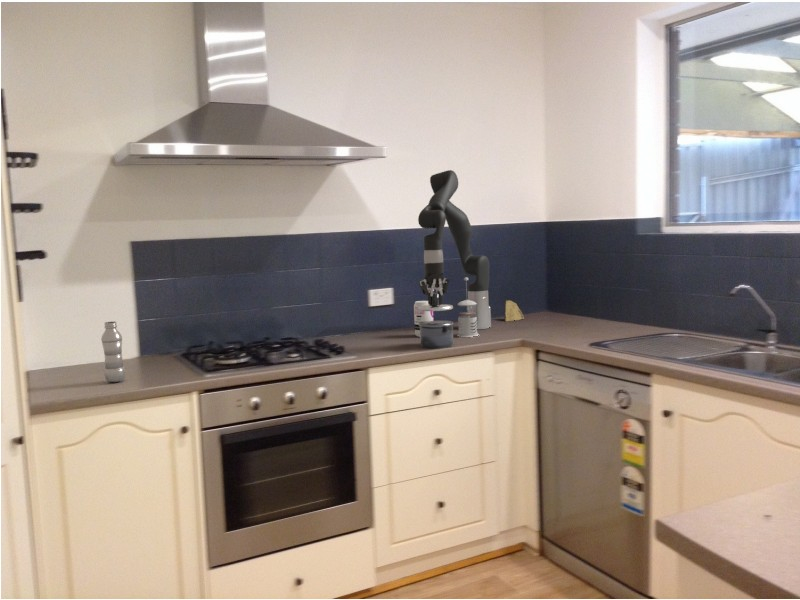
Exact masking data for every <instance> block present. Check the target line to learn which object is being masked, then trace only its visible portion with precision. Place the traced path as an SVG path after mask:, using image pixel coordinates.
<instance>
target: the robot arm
mask: <svg viewBox="0 0 800 600" xmlns="http://www.w3.org/2000/svg"><path fill="white" fill-rule="evenodd" d="M429 182H430V186H431V190H432V193H434V194H433V195H432V196H431V197H430V199H429V202H428V205H426V206H425V207H424V208H422V210H421V211H420V212H419V215H418V219H417V221H418V225H419V227H420V228H422V229H427V230H428V229H435V231H434V232H433V233H430V234H427V235H425V236H424V237H423V248H424V251H423V265H424V266H423V267H424V275H425V276H424V279H422V280H419V281H418V284H419V287H420V289H421V292H422V294H423V296H427V301H428V304H429V306H434V298H433V294H434V291H436V293H439V303H440V305H442V304H443V296H444V295H445V294H447V291H448V289H449V285H450V282H451V280H450V278H446V277H445V276H444V273H445V271H444V269H445V268H444V252H443V233H444V228H445V225H446V224H447V226H448V229H449V231H450V234H451V237H452V238H453V240H454V243H455V245H456V246H455V247H456V248H457V251H458V252H457V253H458V255H459V259H460V262H461V266H462V268H463V270H464V273H465V274H466V275H468V276H472V277H473V276H475V280H474V281H473V282H471V283H469V284H468V285H467V300H470V301H473V302H475V303H477V304H476V305H474V306H472V308H471V306H468V307H467V308H468V309H469V312H472V311H473V312H475V313H476V314H475V315H473V316H477V330H485V329H489V327H490V328H492V313H491V311H492V310H491V308H492V307H491V306H490V305H489V287H490V285H489V284H490V268H491V267H490V260H489V258H488V257H487V256H486V255H483V254H479V255H478V254H476V255H475V254H473V253H472V251H471V247H470V241H471V237H472V230H473V229H472V226H471V222H470V220H469V217H468V215H467V214H466V213H465V212H464V211H463V210H462V209H461V208H459V207H457V205H455V204H453V202H452V201H450V200H451V198H452V197H453V196H454V194H455V193H456V192H457V190H458V188H459V178H458V175H457V174H456V172H455V171H454V170H451V169H449V170H444V171H440V172H438V173H434V174H432V175H431V176H430V178H429ZM470 308H471V309H470ZM468 309H467V310H468ZM470 316H472V315H469V318H470ZM475 323H476V322H475ZM475 326H476V325H475ZM475 329H476V328H475Z"/></svg>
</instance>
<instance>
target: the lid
mask: <svg viewBox="0 0 800 600" xmlns="http://www.w3.org/2000/svg"><path fill="white" fill-rule="evenodd" d="M433 298H434V306H429V305H424V306H419V307H418V310H420V311H433V312H442V311H444V312H445V311H450V310H453V309H454V306H453V304H445V303H444V304H443V303H442V305H440V303H439V293H437V292H436V293H434V292H433Z"/></svg>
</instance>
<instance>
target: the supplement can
mask: <svg viewBox="0 0 800 600" xmlns="http://www.w3.org/2000/svg"><path fill="white" fill-rule="evenodd" d="M424 305H429V304H428V300H417V301H415V302H414V304H413V318H414V319H413V320H414V335H415V336H416V338H417V337H418V338H420V326H419V323H421V322H426V321H434V311H420V310H418V307H419V306H424Z"/></svg>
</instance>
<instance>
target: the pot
mask: <svg viewBox="0 0 800 600" xmlns="http://www.w3.org/2000/svg"><path fill="white" fill-rule="evenodd" d="M419 326H420V337H419V341H420V347H421V348H423V347H424V348H423V349H444V348H443V347H447V348H450V347H449V346H451V347H453V346H454V321H451V320H433V321H426V322H421V323H419ZM452 345H453V346H452Z"/></svg>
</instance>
